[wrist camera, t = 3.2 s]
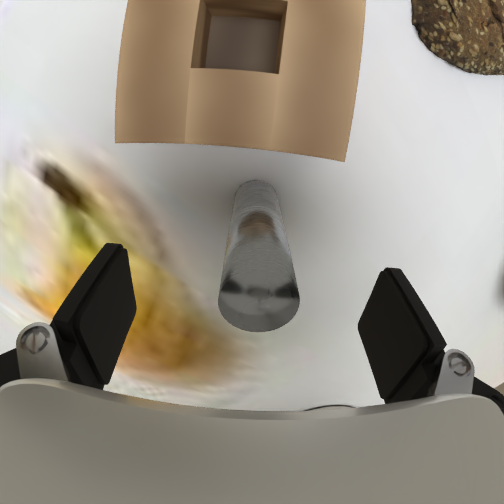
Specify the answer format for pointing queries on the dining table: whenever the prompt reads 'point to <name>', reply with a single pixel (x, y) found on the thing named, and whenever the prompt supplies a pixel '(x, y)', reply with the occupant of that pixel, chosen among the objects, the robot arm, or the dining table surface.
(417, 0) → the bread roll
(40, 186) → the dining table surface
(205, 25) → the bore block
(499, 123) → the dining table surface
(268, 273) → the pin
